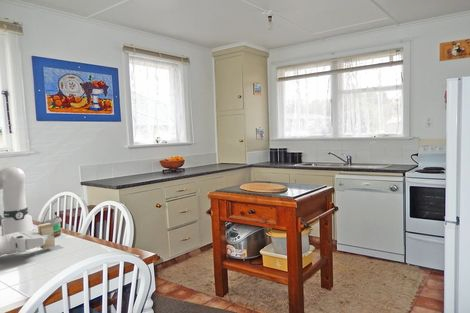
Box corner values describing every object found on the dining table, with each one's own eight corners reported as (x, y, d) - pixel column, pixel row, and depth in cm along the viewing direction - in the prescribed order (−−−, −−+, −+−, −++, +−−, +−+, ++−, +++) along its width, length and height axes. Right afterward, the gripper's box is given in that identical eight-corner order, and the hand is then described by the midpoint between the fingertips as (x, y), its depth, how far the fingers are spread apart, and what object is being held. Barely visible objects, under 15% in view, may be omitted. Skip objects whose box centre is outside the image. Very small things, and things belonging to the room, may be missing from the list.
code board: (24, 248, 171) (24, 247, 171) (49, 241, 180) (49, 240, 180) (37, 255, 158) (37, 255, 158) (64, 248, 167) (64, 247, 167)
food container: (52, 240, 181) (50, 222, 180) (42, 240, 182) (40, 222, 181) (68, 233, 193) (66, 215, 192) (58, 233, 194) (56, 215, 193)
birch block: (40, 247, 165) (37, 225, 164) (51, 244, 168) (48, 222, 167) (43, 249, 161) (41, 226, 160) (55, 246, 165) (52, 224, 164)
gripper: (9, 244, 162) (41, 236, 172) (23, 253, 148) (56, 244, 158) (8, 231, 162) (40, 224, 172) (21, 239, 148) (55, 231, 158)
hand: (48, 234), depth 165 cm, fingers closed on birch block, 5 cm apart
